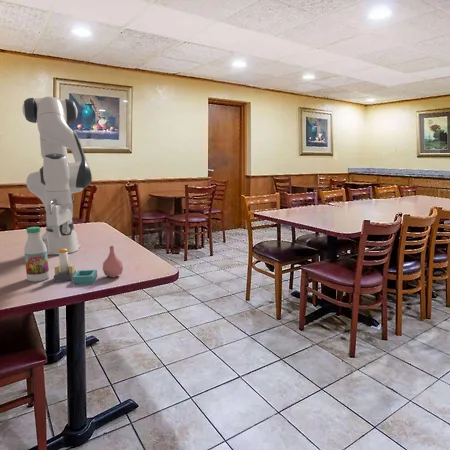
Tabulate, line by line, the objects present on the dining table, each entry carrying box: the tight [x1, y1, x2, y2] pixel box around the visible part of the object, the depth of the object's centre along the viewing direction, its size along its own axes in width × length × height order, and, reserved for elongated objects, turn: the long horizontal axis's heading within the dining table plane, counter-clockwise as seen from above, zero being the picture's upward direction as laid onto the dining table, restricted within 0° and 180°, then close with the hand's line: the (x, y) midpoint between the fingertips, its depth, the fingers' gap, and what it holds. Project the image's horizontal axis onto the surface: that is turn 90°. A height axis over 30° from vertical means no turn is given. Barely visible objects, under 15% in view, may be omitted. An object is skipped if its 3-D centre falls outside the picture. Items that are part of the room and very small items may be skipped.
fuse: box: [58, 248, 70, 274], centre depth 148 cm, size 3×3×9 cm
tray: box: [72, 269, 98, 286], centre depth 146 cm, size 7×8×3 cm
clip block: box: [53, 263, 77, 282], centre depth 149 cm, size 6×6×5 cm
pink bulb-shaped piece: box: [102, 245, 124, 278], centre depth 150 cm, size 8×8×12 cm
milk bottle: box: [23, 226, 50, 282], centre depth 147 cm, size 8×8×20 cm
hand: (61, 235), depth 146 cm, fingers open, 8 cm apart
